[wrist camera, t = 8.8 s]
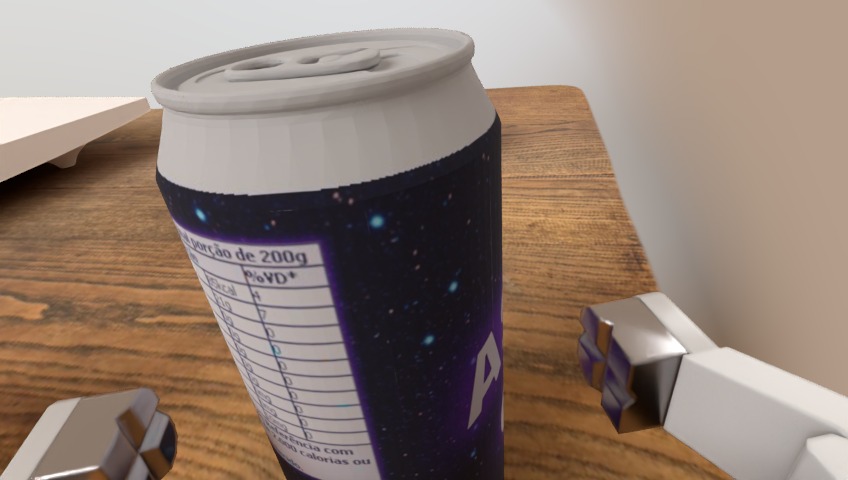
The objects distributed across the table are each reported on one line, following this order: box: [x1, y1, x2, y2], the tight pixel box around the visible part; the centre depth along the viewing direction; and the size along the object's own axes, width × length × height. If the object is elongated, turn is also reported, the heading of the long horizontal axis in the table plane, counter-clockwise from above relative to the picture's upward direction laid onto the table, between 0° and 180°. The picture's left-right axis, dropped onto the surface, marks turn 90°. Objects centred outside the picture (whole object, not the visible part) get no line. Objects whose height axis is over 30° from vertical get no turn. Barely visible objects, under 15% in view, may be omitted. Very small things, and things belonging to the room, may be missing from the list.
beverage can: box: [151, 28, 504, 480], centre depth 10 cm, size 6×6×12 cm
